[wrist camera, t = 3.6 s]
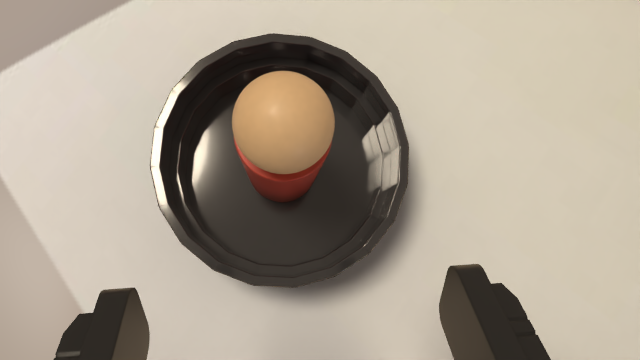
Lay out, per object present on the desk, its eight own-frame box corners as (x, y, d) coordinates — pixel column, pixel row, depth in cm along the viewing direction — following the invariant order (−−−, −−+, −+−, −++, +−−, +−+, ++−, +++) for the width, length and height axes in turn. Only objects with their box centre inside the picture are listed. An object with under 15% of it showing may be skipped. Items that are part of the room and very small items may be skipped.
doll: (301, 212, 28) (318, 186, 16) (237, 187, 28) (203, 140, 15) (326, 150, 28) (360, 78, 16) (263, 125, 28) (251, 33, 16)
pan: (344, 313, 28) (356, 326, 23) (134, 231, 27) (106, 228, 23) (417, 113, 30) (442, 89, 25) (223, 34, 29) (213, -3, 25)
